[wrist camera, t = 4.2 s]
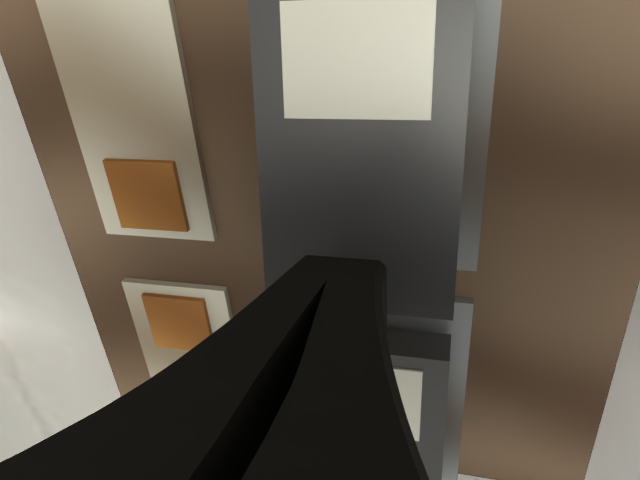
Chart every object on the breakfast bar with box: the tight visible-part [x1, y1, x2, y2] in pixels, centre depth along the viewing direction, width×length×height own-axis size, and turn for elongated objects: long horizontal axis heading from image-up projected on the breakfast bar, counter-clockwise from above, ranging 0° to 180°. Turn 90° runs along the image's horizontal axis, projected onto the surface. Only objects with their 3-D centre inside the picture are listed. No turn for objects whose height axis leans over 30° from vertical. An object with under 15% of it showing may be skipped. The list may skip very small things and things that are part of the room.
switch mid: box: [248, 0, 475, 321], centre depth 10 cm, size 6×4×1 cm, turn 4°
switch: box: [387, 328, 451, 480], centre depth 14 cm, size 6×4×1 cm, turn 4°
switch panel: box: [0, 0, 640, 480], centre depth 12 cm, size 22×14×2 cm, turn 4°
